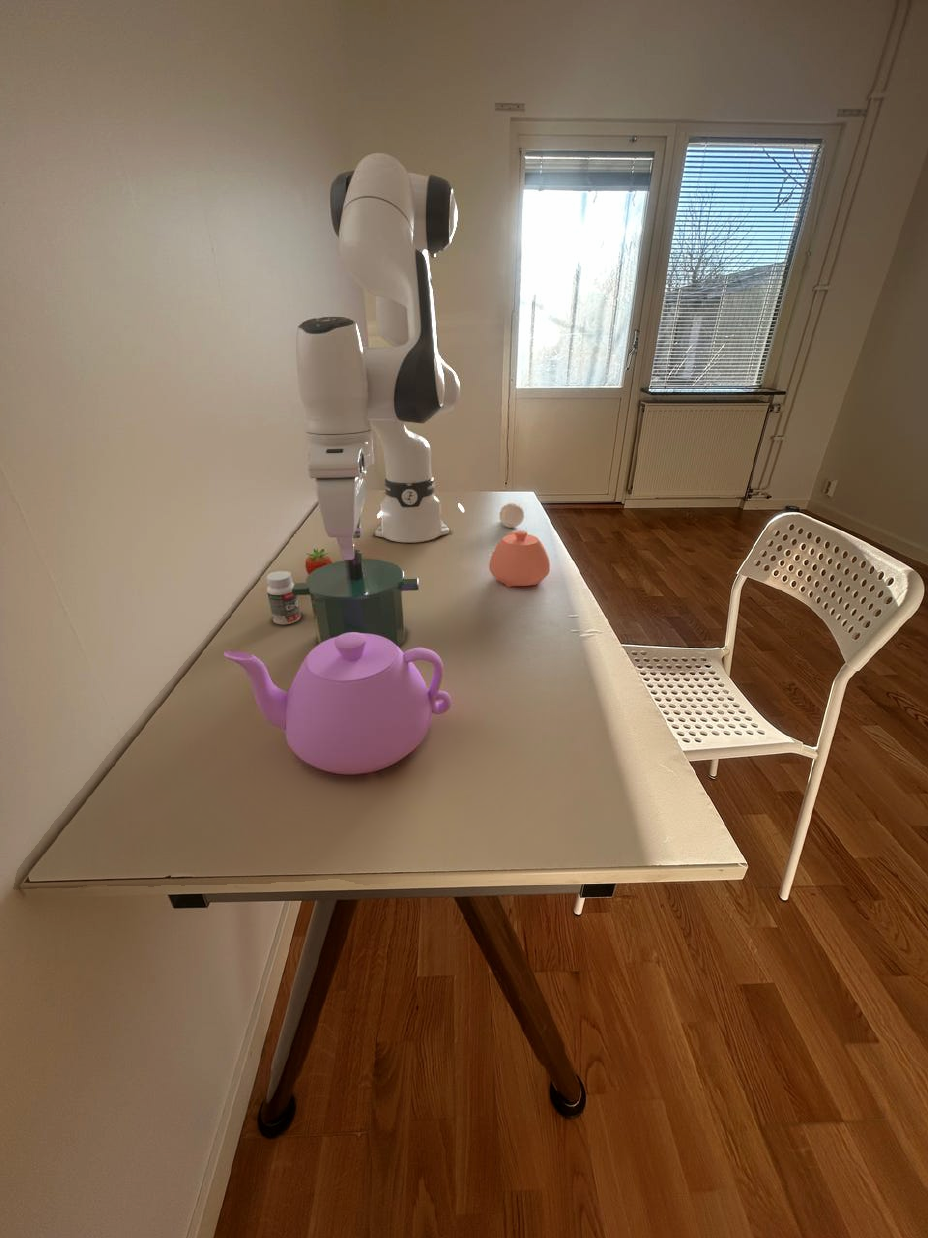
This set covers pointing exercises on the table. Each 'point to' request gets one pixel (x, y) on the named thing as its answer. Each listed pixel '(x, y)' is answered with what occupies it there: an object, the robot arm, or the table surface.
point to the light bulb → (511, 515)
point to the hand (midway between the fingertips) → (352, 546)
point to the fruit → (316, 561)
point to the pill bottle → (282, 598)
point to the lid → (354, 579)
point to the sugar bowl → (519, 560)
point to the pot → (360, 614)
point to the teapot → (351, 702)
